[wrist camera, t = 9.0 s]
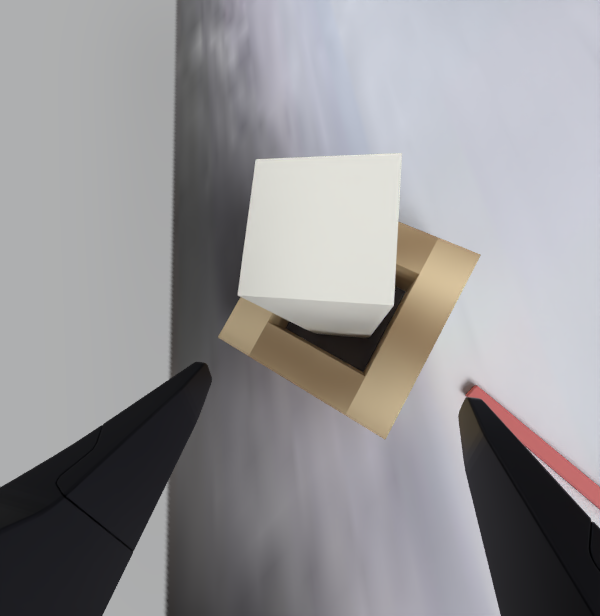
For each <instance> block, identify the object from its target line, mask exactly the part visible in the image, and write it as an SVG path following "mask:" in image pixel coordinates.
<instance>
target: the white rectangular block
mask: <svg viewBox="0 0 600 616" xmlns="http://www.w3.org/2000/svg"><path fill="white" fill-rule="evenodd" d="M401 161H402V153H392V154H368V155H345V156H322V157H299V158H275V159H256V162H255V169H254V177H253V184H252V191H251V199H250V206H249V214H248V221H247V229H246V236H245V243H244V251H243V258H242V266H241V273H240V281H239V288H238V296H240V297H242V298H244V299H246V300H248V301H250V302H252V303H254V304H256V305H258V306H260V307H262V308H264V309H266V310H268V311H270V312H272V313H274V314H276V315H278V316H280V317H282V318H284V319H286V320H288V321H290V322H292V323H294V324H296V325H298V326H300V327H302V328H304V329H306V330H308V331H310V332H312V333H314V334H324V335H335V336H346V337H358V338H369V337H370V336H371V335H372V333H373V332H374V331H375V329H376V328H377V327H378V325H379V324H380V323H381V321H382V320H383V319H384V318H385V316H386V315H387V314H388V312H389V311H390V310H391V308H392V307H393V306H394V293H395V274H396V255H397V237H398V218H399V199H400V180H401Z"/></svg>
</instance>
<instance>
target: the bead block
mask: <svg viewBox="0 0 600 616" xmlns="http://www.w3.org/2000/svg"><path fill="white" fill-rule="evenodd" d="M479 257H480V254H477V253H475V252H472V251H470V250H467V249H465V248H463V247H460V246H458V245H455V244H453V243H450V242H448V241H445V240H443V239H440V238H438V237H435V236H433V235H430V234H428V233H425V232H423V231H420V230H418V229H415V228H413V227H410V226H408V225H405V224H403V223H400V222H398V237H397V255H396V274H395V287H397V288H399V289H402V290H404V291H406V292H405V294H404V296H403V298H402V300H401V301H400V303H399V305H398V307H397V309H396V311H395V313H394V315H393V317H392V318H391V320H390V322H389V324H388V326H387V328H386V330H385V332H384V334H383V336H382V337H381V339H380V341H379V343H378V345H377V347H376V349H375V351H374V353H373V355H372V356H371V358H370V360H369V362H368V364H367V366H366V368H365V370H364V372H362V371H361V370H359V369H357V368H355V367H354V366H352V365H350V364H348V363H346V362H345V361H343V360H341V359H339V358H337V357H336V356H334V355H332V354H330V353H329V352H327V351H325V350H323V349H321V348H320V347H318V346H316V345H314V344H312V343H311V342H309V341H307V340H305V339H304V338H302V337H300V336H298V335H296V334H295V333H293V332H291V331H289V330H287V329H286V327H287V325H288V323H289V321H288V320H286V319H284V318H282V317H280V316H278V315H276V314H274V313H272V312H270V311H268V310H266V309H264V308H262V307H260V306H258V305H256V304H254V303H252V302H250V301H248V300H246V299H244V298H242V297H240V299H239V301H238V303H237V304H236V306H235V308H234V310H233V311H232V313H231V315H230V317H229V319H228V320H227V322H226V324H225V326H224V328H223V329H222V331H221V333H220V335H219V336H218V338H220V339H222V340H223V341H225V342H226V343H228V344H230V345H231V346H233V347H235V348H236V349H238V350H240V351H241V352H243V353H244V354H246V355H248V356H249V357H251V358H253V359H254V360H256V361H258V362H259V363H261V364H262V365H264V366H266V367H267V368H269V369H271V370H272V371H274V372H276V373H277V374H279V375H280V376H282V377H284V378H285V379H287V380H289V381H290V382H292V383H293V384H295V385H297V386H298V387H300V388H302V389H303V390H305V391H307V392H308V393H310V394H311V395H313V396H315V397H316V398H318V399H320V400H321V401H323V402H325V403H326V404H328V405H329V406H331V407H333V408H334V409H336V410H338V411H339V412H341V413H343V414H344V415H346V416H347V417H349V418H351V419H352V420H354V421H356V422H357V423H359V424H360V425H362V426H364V427H365V428H367V429H369V430H370V431H372V432H374V433H375V434H377V435H378V436H380V437H382V438H383V439H386V437H387V435H388V434H389V432H390V430H391V428H392V426H393V424H394V422H395V420H396V418H397V416H398V414H399V412H400V410H401V408H402V406H403V404H404V403H405V401H406V399H407V397H408V395H409V393H410V391H411V389H412V387H413V385H414V383H415V381H416V379H417V377H418V375H419V373H420V372H421V370H422V368H423V366H424V364H425V362H426V360H427V358H428V356H429V354H430V352H431V350H432V348H433V346H434V344H435V342H436V341H437V339H438V337H439V335H440V333H441V331H442V329H443V327H444V325H445V323H446V321H447V319H448V317H449V315H450V313H451V311H452V310H453V308H454V306H455V304H456V302H457V300H458V298H459V296H460V294H461V292H462V290H463V288H464V286H465V284H466V282H467V280H468V279H469V277H470V275H471V273H472V271H473V269H474V267H475V265H476V263H477V261H478V259H479Z"/></svg>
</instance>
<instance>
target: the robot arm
mask: <svg viewBox="0 0 600 616" xmlns="http://www.w3.org/2000/svg"><path fill="white" fill-rule="evenodd" d="M211 382H212V377H211V374H210V371H209V368H208V365H207V364H206V363H203V362H195V363H193V364H192V365H190V366H189V367H187V368H186V369H184V370H183V371H181V372H180V373H178V374H177V375H175V376H174V377H172V378H171V379H169V380H168V381H166V382H165V383H163V384H162V385H161V386H159V387H158V388H156V389H155V390H153V391H152V392H150V393H149V394H147V395H146V396H144V397H143V398H141V399H140V400H138V401H137V402H135V403H134V404H132V405H131V406H130V407H128V408H127V409H125V410H124V411H122V412H121V413H119V414H118V415H116V416H115V417H113V418H112V419H110V420H109V421H107V422H106V423H104V424H103V425H102V426H100V427H98V428H97V429H96V430H94V431H92V432H91V433H89V434H88V435H86V436H85V437H83V438H82V439H80V440H79V441H77V442H76V443H74V444H73V445H71V446H69V447H68V448H66V449H64V450H63V451H61V452H59V453H58V454H56V455H55V456H53V457H51V458H49V459H48V460H46V461H44V462H43V463H41V464H40V465H38V466H36V467H34V468H33V469H31V470H29V471H28V472H26V473H24V474H23V475H21V476H19V477H18V478H16V479H14V480H12V481H11V482H9V483H7V484H5V485H4V486H2V487H0V616H102V615H103V613H104V611H105V609H106V607H107V605H108V603H109V600H110V599H111V597H112V594H113V592H114V590H115V588H116V586H117V584H118V582H119V580H120V578H121V576H122V574H123V572H124V570H125V568H126V566H127V564H128V562H129V560H130V558H131V556H132V554H133V551H134V549H135V547H136V545H137V543H138V541H139V539H140V537H141V535H142V533H143V531H144V529H145V527H146V524H147V523H148V520H149V518H150V516H151V514H152V512H153V510H154V508H155V506H156V504H157V502H158V500H159V498H160V496H161V494H162V491H163V490H164V488H165V486H166V484H167V482H168V480H169V478H170V476H171V474H172V472H173V469H174V467H175V465H176V463H177V461H178V459H179V457H180V455H181V453H182V451H183V449H184V447H185V445H186V443H187V441H188V439H189V437H190V435H191V433H192V431H193V429H194V427H195V424H196V422H197V420H198V418H199V415H200V412H201V410H202V407H203V404H204V402H205V399H206V396H207V393H208V391H209V388H210V385H211ZM458 417H459V427H460V435H461V443H462V450H463V458H464V465H465V471H466V475H467V479H468V483H469V488H470V492H471V496H472V500H473V504H474V508H475V512H476V516H477V520H478V524H479V528H480V532H481V536H482V541H483V545H484V549H485V553H486V557H487V561H488V565H489V569H490V573H491V577H492V581H493V585H494V589H495V594H496V598H497V602H498V606H499V610H500V614H501V616H600V528H599V527H598V526H597V525H596V524H595V523H594V522H591V518H590V517H589V516H588V515H587V514H586V513H585V512H584V511H583V509H582V508H581V507H580V506H579V505H578V504H577V503H576V502H575V501H574V500H573V499H572V497H571V496H570V495H569V494H568V493H567V492H566V491H565V490H564V489H563V488H562V486H561V485H560V484H559V483H558V482H557V481H556V480H555V479H554V478H553V477H552V475H551V474H550V473H549V472H548V471H547V470H546V469H545V468H544V467H543V466H542V464H541V463H540V462H539V461H538V460H537V459H536V458H535V457H534V456H533V455H532V454H531V452H530V451H529V450H528V449H527V448H526V447H525V446H524V445H523V444H522V443H521V441H520V440H519V439H518V438H517V437H516V436H515V435H514V434H513V433H512V432H511V430H510V429H509V428H508V427H507V426H506V425H505V424H504V423H503V422H502V421H501V420H500V418H499V417H498V416H497V415H496V414H495V413H494V412H493V411H492V410H491V409H490V407H489V406H488V405H487V404H486V403H485V402H484V401H483V400H482V399H480V398H473V397H466V398H465V400H464V402H463V404H462V407H461V409H460V411H459V416H458Z"/></svg>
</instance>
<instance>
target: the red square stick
mask: <svg viewBox="0 0 600 616" xmlns="http://www.w3.org/2000/svg"><path fill="white" fill-rule="evenodd" d="M465 396H467V397H473V398H480V399H482V400H483V401H484V402H485V403H486V404H487V405H488V406H489V407H490V409H491V410H492V411H493V412H494V413H495V414H496V415H497V416H498V417H499V418H500V420H501V421H502V422H503V423H504V424H505V425H506V426H507V427H508V428H509V429H510V430H511V432H512V433H513V434H514V435H515V436H516V437H517V438H518V439H519V440H520V441H521V443H522V444H523V445H524V446H526V447H527V448H528V449H529V450H530V451H532V452H533V453H534V454H535V455H536V456H537V457H539V458H540V459H541V460H542V461H543V462H545V463H546V464H547V465H548V466H549V467H550V468H552V469H553V470H554V471H555V472H556V473H557V474H559V475H560V476H561V477H562V478H563V479H565V480H566V481H567V482H568V483H569V484H570V485H572V486H573V487H574V488H575V489H576V490H578V491H579V492H580V493H581V494H582V495H583V496H585V497H586V498H587V499H588V500H589V501H591V502H592V503H593V504H594V505H595V506H596V507H598V508H599V509H600V487H599V486H598V485H597V484H595V483H594V482H593V481H592V480H591V479H589V478H588V477H587V476H586V475H584V474H583V473H582V472H581V471H580V470H578V469H577V468H576V467H575V466H574V465H572V464H571V463H570V462H569V461H568V460H566V459H565V458H564V457H563V456H562V455H560V454H559V453H558V452H557V451H555V450H554V449H553V448H552V447H551V446H549V445H548V444H547V443H546V442H545V441H543V440H542V439H541V438H540V437H539V436H537V435H536V434H535V433H534V432H533V431H531V430H530V429H529V428H528V427H526V426H525V425H524V424H523V423H522V422H520V421H519V420H518V419H517V418H516V417H514V416H513V415H512V414H511V413H510V412H508V411H507V410H506V409H505V408H503V407H502V406H501V405H500V404H499V403H497V402H496V401H495V400H494V399H493V398H491V397H490V396H489V395H488V394H487V393H485V392H484V391H483V390H482V389H481V388H479V387H478V386H476V385H474V386H473V387H472V388H471V389H470V391H469V392H468V393H467V394H466V395H465Z"/></svg>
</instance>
